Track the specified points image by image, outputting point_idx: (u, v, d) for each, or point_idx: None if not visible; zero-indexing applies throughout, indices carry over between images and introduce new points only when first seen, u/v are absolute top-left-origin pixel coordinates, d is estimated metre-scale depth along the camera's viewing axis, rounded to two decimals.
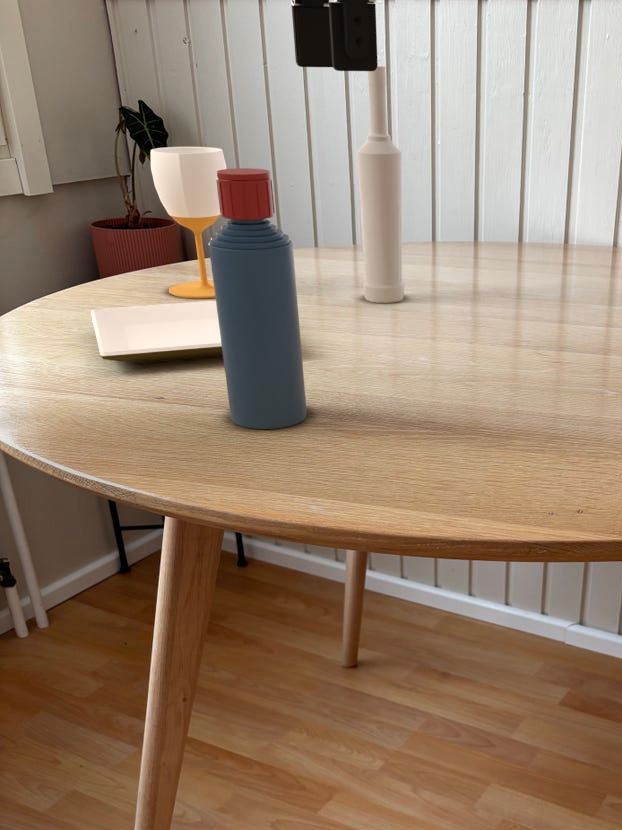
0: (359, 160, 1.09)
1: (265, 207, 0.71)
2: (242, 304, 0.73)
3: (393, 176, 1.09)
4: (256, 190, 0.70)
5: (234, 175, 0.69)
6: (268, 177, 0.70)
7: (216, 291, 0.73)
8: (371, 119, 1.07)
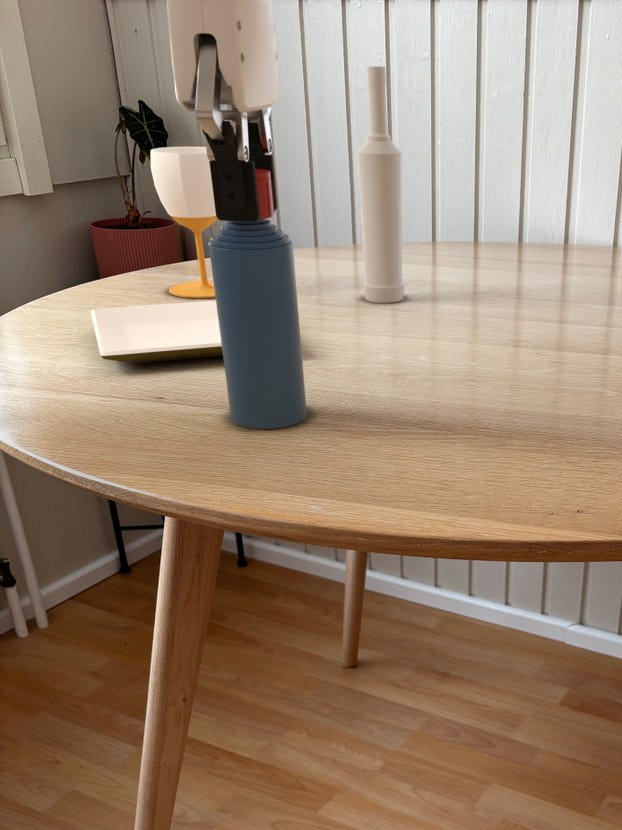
0: (359, 160, 1.09)
1: (265, 207, 0.71)
2: (242, 304, 0.73)
3: (393, 176, 1.09)
4: None
5: None
6: (268, 177, 0.70)
7: (216, 291, 0.73)
8: (371, 119, 1.07)
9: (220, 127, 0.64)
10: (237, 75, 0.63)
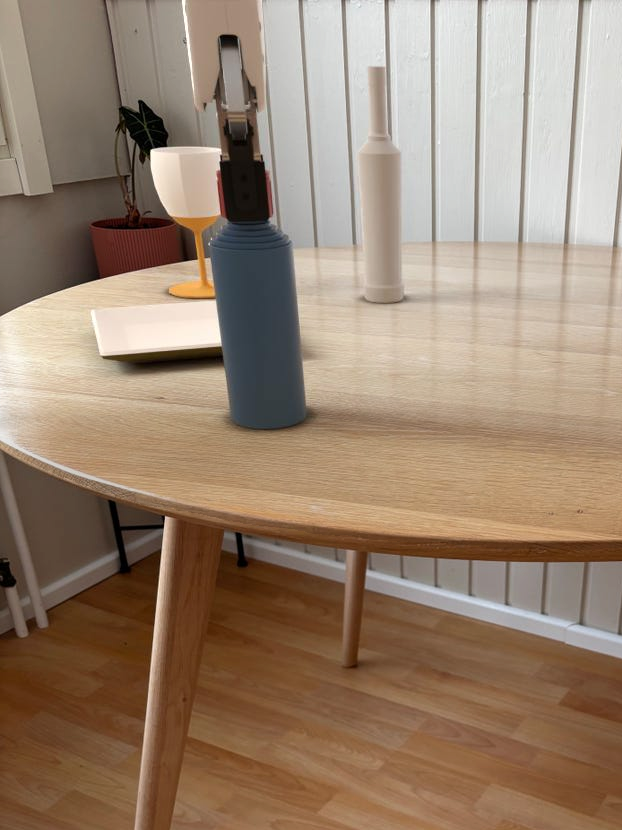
0: (359, 160, 1.09)
1: (269, 206, 0.71)
2: (242, 304, 0.73)
3: (393, 176, 1.09)
4: None
5: None
6: (269, 176, 0.71)
7: (216, 291, 0.73)
8: (371, 119, 1.07)
9: (247, 128, 0.64)
10: (260, 75, 0.63)
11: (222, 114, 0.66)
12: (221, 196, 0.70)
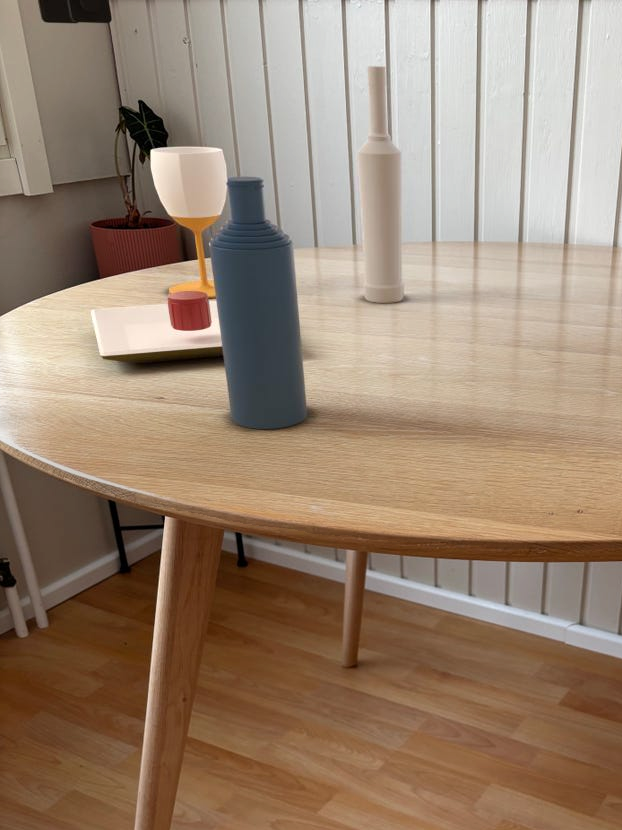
0: (359, 160, 1.09)
1: (210, 318, 0.97)
2: (242, 304, 0.73)
3: (393, 176, 1.09)
4: (205, 307, 0.96)
5: (193, 299, 0.94)
6: None
7: (216, 291, 0.73)
8: (371, 119, 1.07)
9: None
10: None
11: None
12: (175, 315, 0.95)
